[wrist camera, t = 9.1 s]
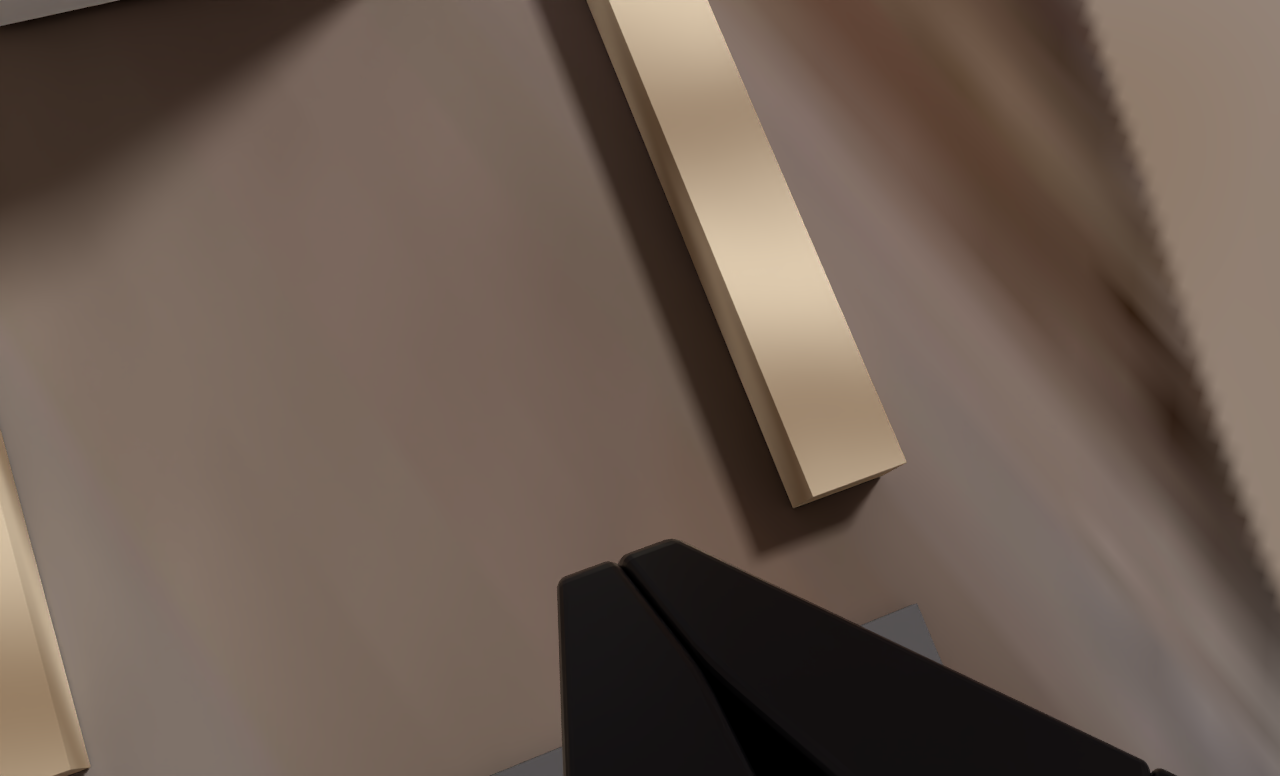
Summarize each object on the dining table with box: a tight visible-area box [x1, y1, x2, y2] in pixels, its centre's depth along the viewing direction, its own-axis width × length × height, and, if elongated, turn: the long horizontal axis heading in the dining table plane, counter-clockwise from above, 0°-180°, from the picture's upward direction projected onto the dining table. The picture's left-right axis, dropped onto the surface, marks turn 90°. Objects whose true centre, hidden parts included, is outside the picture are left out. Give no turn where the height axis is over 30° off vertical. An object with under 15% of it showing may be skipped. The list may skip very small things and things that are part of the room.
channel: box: [0, 0, 907, 776], centre depth 22 cm, size 14×17×1 cm
